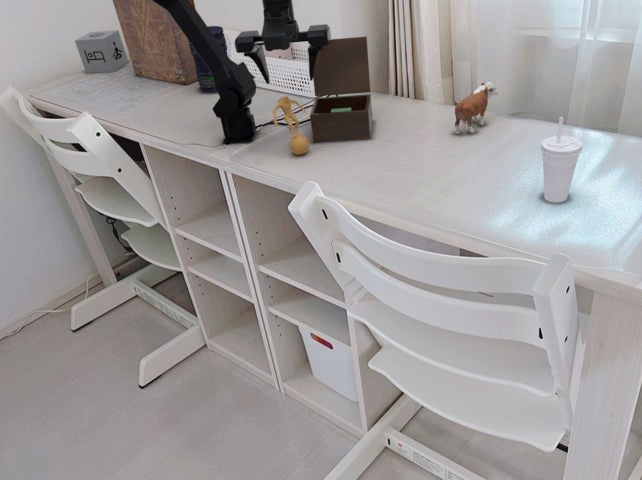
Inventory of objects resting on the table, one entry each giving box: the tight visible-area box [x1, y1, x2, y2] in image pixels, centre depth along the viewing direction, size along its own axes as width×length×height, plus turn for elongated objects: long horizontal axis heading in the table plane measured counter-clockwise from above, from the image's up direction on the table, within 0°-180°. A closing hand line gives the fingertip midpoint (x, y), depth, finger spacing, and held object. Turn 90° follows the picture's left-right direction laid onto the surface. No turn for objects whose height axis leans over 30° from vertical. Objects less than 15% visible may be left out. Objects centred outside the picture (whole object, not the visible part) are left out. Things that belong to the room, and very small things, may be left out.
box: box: [309, 93, 374, 144], centre depth 134 cm, size 10×12×6 cm
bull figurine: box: [454, 81, 499, 135], centre depth 128 cm, size 4×13×8 cm, turn 137°
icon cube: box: [74, 29, 129, 74], centre depth 197 cm, size 10×10×10 cm
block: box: [331, 108, 352, 112], centre depth 133 cm, size 4×4×4 cm
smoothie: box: [540, 116, 584, 204], centre depth 99 cm, size 6×6×14 cm
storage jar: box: [188, 25, 229, 94], centre depth 165 cm, size 10×10×18 cm
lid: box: [312, 35, 371, 97], centre depth 133 cm, size 11×12×1 cm
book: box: [112, 0, 198, 85], centre depth 176 cm, size 25×9×30 cm, turn 52°
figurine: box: [272, 95, 310, 156], centre depth 125 cm, size 8×6×12 cm
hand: (289, 81), depth 127 cm, fingers open, 9 cm apart
